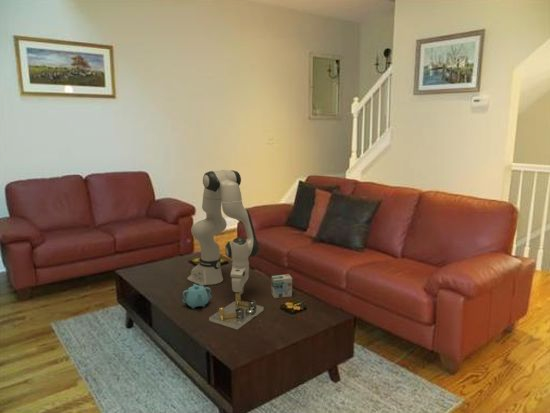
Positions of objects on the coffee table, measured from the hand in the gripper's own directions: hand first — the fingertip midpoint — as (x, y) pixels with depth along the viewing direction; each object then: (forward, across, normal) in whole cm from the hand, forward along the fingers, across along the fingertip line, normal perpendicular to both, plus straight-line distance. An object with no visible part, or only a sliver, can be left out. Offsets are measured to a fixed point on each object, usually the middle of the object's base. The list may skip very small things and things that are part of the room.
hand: (241, 293), depth 225 cm
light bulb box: (+6, -14, +20) cm, 25 cm away
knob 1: (+3, +21, +1) cm, 22 cm away
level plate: (+6, +15, +2) cm, 16 cm away
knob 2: (+3, +8, +4) cm, 9 cm away
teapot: (+6, +8, -22) cm, 24 cm away
